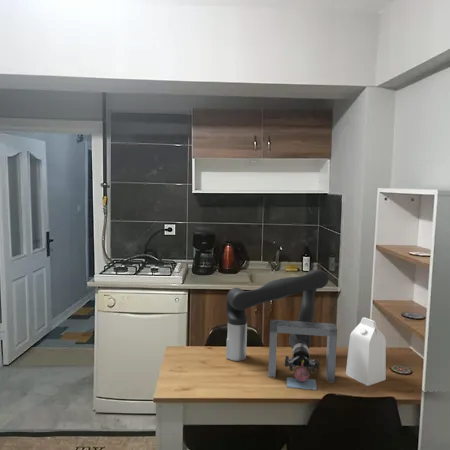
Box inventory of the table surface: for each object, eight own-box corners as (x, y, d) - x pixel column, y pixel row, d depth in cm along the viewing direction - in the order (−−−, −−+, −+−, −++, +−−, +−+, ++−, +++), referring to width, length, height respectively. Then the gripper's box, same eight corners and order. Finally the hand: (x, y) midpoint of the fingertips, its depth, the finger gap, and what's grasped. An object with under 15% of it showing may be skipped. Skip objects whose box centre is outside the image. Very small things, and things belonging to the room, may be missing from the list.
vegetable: (297, 386, 173) (298, 363, 172) (291, 380, 179) (292, 357, 178) (311, 385, 175) (312, 362, 174) (305, 378, 181) (306, 356, 180)
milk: (385, 379, 183) (389, 321, 180) (367, 385, 177) (370, 325, 174) (363, 369, 193) (366, 313, 190) (345, 374, 187) (348, 317, 184)
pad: (286, 387, 174) (287, 385, 174) (286, 378, 182) (286, 377, 182) (316, 390, 172) (316, 388, 172) (315, 381, 180) (315, 379, 180)
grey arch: (268, 376, 183) (270, 325, 180) (269, 368, 191) (270, 319, 188) (334, 382, 179) (337, 330, 176) (332, 374, 187) (335, 323, 184)
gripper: (285, 345, 191) (285, 359, 175) (317, 347, 189) (320, 362, 173) (284, 361, 192) (284, 377, 176) (316, 363, 190) (319, 380, 174)
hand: (302, 370), depth 174 cm, fingers open, 8 cm apart
